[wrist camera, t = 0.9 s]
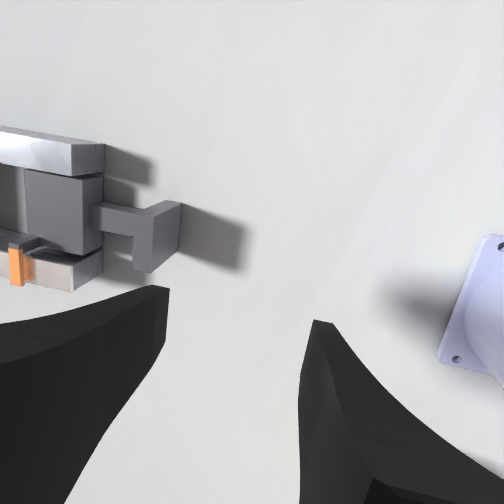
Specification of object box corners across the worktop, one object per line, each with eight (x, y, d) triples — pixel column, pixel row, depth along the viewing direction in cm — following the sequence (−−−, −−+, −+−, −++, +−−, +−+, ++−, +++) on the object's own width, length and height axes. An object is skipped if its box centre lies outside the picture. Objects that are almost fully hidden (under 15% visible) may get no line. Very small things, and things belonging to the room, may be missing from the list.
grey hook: (183, 191, 20) (154, 202, 17) (174, 288, 22) (147, 317, 19) (49, 166, 21) (-6, 172, 17) (52, 262, 23) (4, 285, 19)
